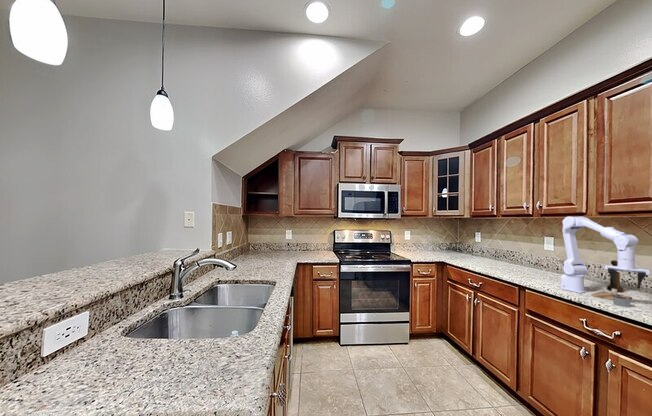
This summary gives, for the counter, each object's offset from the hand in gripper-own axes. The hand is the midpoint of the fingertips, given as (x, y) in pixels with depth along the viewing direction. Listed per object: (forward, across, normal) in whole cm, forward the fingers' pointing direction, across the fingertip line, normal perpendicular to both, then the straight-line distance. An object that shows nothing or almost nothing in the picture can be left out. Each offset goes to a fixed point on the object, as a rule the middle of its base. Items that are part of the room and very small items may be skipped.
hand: (626, 286), depth 129 cm
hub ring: (+10, -2, -2) cm, 10 cm away
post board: (+10, -7, +12) cm, 17 cm away
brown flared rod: (+10, -7, +32) cm, 34 cm away
